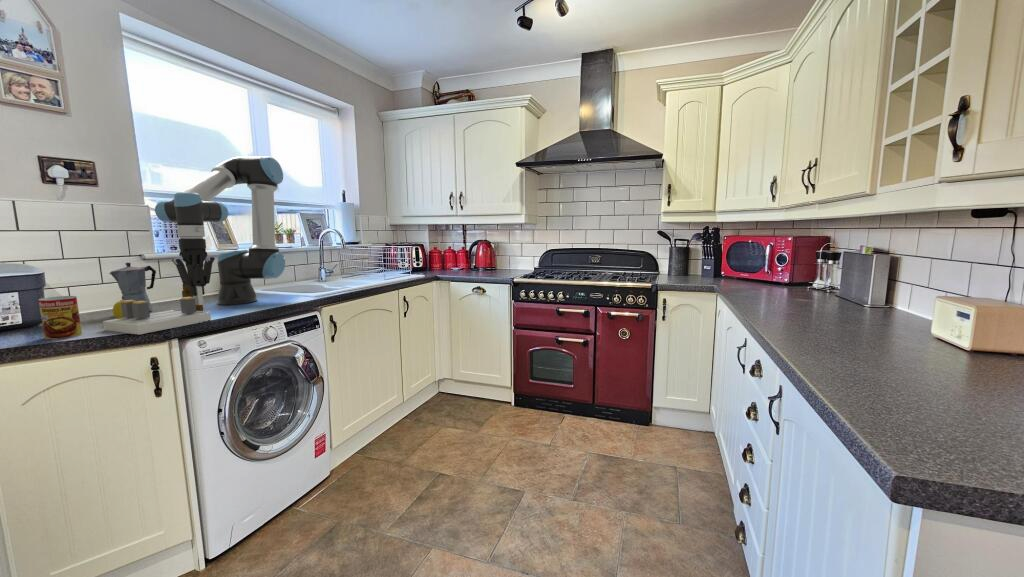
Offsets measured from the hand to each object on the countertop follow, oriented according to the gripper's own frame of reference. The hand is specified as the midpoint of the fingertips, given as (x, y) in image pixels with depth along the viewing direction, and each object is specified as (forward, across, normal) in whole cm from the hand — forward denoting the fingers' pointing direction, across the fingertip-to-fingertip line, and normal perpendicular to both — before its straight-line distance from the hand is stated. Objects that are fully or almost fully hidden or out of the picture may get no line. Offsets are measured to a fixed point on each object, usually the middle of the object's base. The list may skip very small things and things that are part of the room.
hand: (198, 304), depth 148 cm
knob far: (+3, -14, +12) cm, 19 cm away
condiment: (+6, +8, +16) cm, 19 cm away
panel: (+6, -9, +6) cm, 13 cm away
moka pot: (+6, +3, +41) cm, 42 cm away
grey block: (+2, -3, 0) cm, 4 cm away
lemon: (+6, -10, +24) cm, 27 cm away
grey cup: (+3, -14, +6) cm, 16 cm away
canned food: (+6, -29, +17) cm, 34 cm away
